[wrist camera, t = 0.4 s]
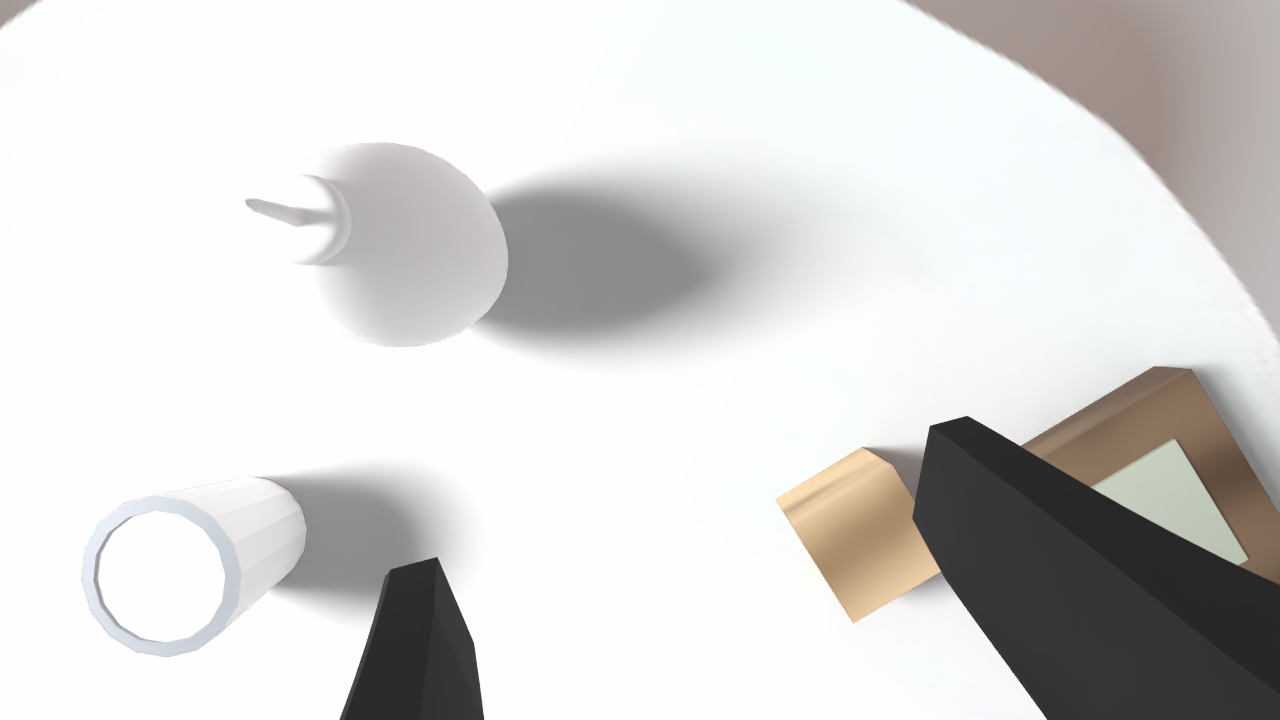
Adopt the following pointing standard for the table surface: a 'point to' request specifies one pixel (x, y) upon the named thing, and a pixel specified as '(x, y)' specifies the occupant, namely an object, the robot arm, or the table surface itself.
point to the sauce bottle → (385, 243)
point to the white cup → (190, 562)
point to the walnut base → (1170, 466)
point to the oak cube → (860, 532)
